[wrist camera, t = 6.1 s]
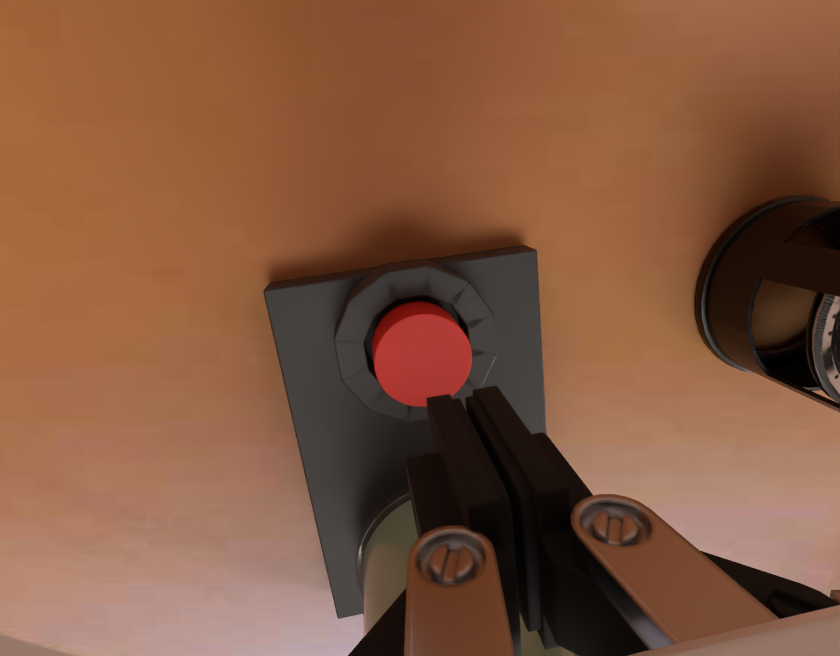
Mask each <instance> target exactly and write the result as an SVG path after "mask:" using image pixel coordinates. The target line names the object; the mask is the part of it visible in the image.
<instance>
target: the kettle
mask: <svg viewBox="0 0 840 656" xmlns="http://www.w3.org/2000/svg"><path fill="white" fill-rule="evenodd" d="M417 539H418V535H417V530H416V525H415V520H414V514H413V509H412V503H411V497H410V491H409V485H408V486H406V487H404V488H402V489H400V490H399V491H397V492H396V493H394V494H393V495H391V496H390V497H389V498H387V499H386V500H385V501H384V502H383V503H382V504H381V505H380V506H379V507H378V508H377V509H376V510H375V511H374V512H373V513H372V515H371V516H370V518H369V519H368V520H367V522H366V524H365V526H364V527H363V529H362V531H361V534H360V536H359V539H358V542H357V547H356V552H355V572H356V580H357V583H358V587H359V590H360V592H361V594H362V596H363V622H364V636H365V635H366V634H367V633H368V632H369V631H370V629H371V628H372V627H373V626H374V625H375V624H376V622H377V621H378V620H379V619H380V618H381V616H382V615H383V614H384V613H385V612H386V611H387V609H388V608H389V607H390V606H391V605H392V604H393V602H394V601H395V600H396V599H397V598H398V597H399V595H400V594H401V593H402V592H403V591H404V590H405V588H406V584H407V560H408V555H409V551H410V549H411V547H412V546H413V544H414V543H415V541H416V540H417ZM519 613H520V612H519ZM520 627H521V633H520V635H521V649H522V654H521V656H574V653H572V652H570V651H568V650H566V649H564V648H562V647H555V648H551V649H547V650H545V648H544V646H543V644H542V641H541V639H540V636H539V634H538V632H537V630H536V631H532V632H528V631H527V629H526V627H525V625H524V622H523V620H522V617H521V615H520Z"/></svg>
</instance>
